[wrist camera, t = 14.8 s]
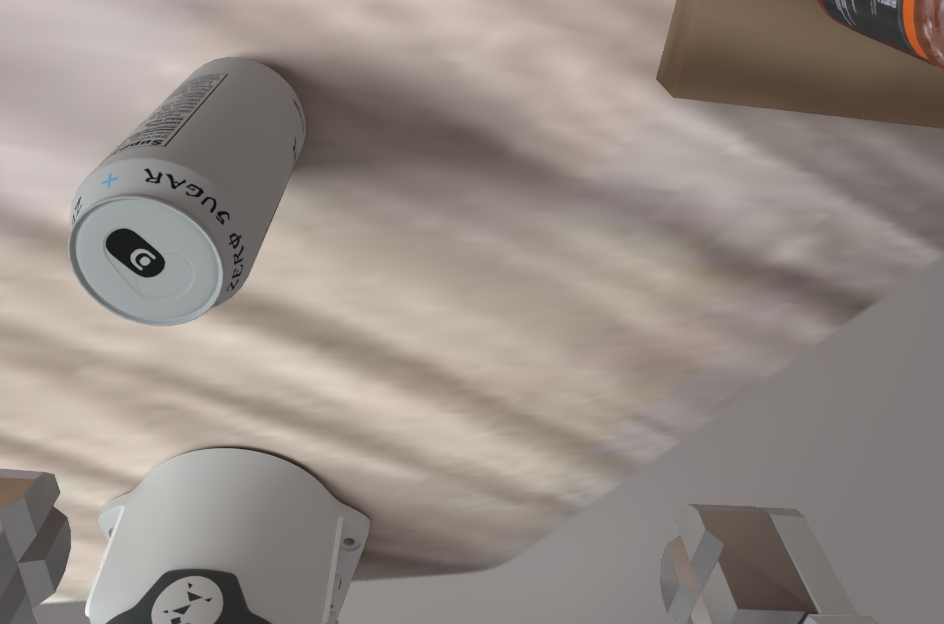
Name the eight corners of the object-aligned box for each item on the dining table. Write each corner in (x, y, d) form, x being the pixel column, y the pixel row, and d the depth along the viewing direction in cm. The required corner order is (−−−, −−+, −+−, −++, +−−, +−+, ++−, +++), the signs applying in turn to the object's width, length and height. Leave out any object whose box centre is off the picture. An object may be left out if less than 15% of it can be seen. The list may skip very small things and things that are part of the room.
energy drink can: (251, 192, 38) (161, 368, 25) (158, 104, 35) (6, 253, 22) (334, 123, 36) (281, 276, 23) (243, 24, 33) (129, 138, 21)
